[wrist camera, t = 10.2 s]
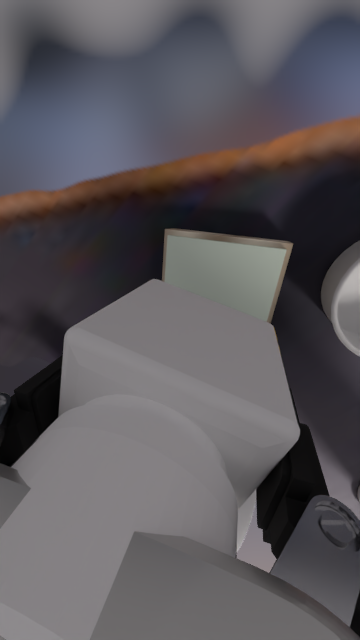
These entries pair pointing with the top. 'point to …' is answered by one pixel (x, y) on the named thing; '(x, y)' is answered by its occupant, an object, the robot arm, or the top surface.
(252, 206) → the top surface
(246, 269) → the plinth
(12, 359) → the top surface
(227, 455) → the medicine bottle
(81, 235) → the top surface
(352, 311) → the saucepan
